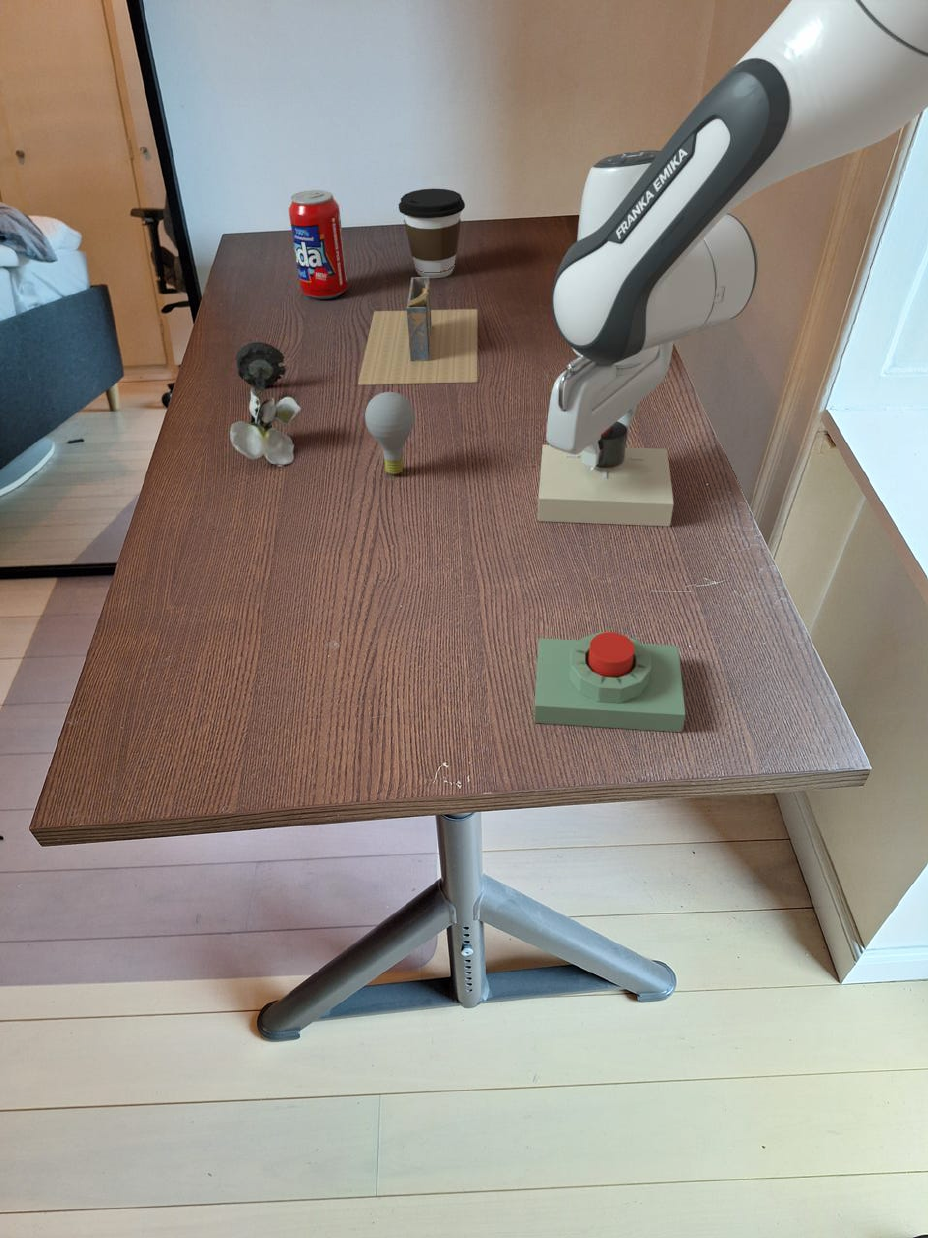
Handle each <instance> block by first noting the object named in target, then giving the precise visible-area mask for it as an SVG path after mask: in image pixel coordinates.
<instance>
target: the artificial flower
mask: <svg viewBox="0 0 928 1238" xmlns="http://www.w3.org/2000/svg"><path fill="white" fill-rule="evenodd" d="M235 356H236V357H235V360H236V361H235V362H236V366H237V374H238V376H239V378H240V379H241V380H243V381H244V382H245V383H246V384H248V385H250V386H253V387H251V388H250V401H249V405H248V406H249V408H248V410H249V413H250V414H251V415H250V416H251V417H250V421H249V422H248V423H247V422H245V421H243V420H242V421H241V420H240V421H239V420H238V421H236V422H235V421H234V422H233V423H232V424H231V426H230V431H229V433H230V434H229V439H230V442H231V445H232V446H233V447H234V448H235V450H236V451H237V452H239V453H240V454H242V455H243V456H245V457H246V458H247V459H248V460H257V459H260V458H261V457H262V456H264V457H265V458H266V460H267V461H268V462H269V463H270V464H272V465H276V467H279V468H281V467H282V468H283V467H284V466H285V465H291V463H293V461H294V460H295V456H294V455H295V454H294V448H295V445H294V443H293V441H292V438H291V437H290V436H289V435H288V434H285V433H283V432H282V431H281V430H279V428H278V427H273V425H274V422H276V423H277V424H278V425H280V426H282V427H287V426H288V425H290V424H292V422H293V421H294V419H295V417H296V415H297V414H298V413H299V412H300V411H301V410H302V408H301V406H300V405H298V403H297V401H296V400H295V399H294V398H293V397H291V396H285V397H283V398H281V399H280V400H279V401H278V402H277V403H275V398H274V397H271V400H270V399H265V400H264V401H263V402H262V403H261V398H262V393H263V392H264V390H265V388H266V386H273V385H274V384H276V383H277V382H278V380H281V379H282V377H283V376H285V374H286V366H285V365H281V366H280V365H279V364H282V363H283V364H284V363H285V355H284V354H283V353H282V352H281V351H280V349H278V348H276V346H275V347H274V346H273V345H271V344H268V343H267V342H262V341H258V342H257V341H256V342H251V343H247V344H245V345H244V346H243V347H241V349H240V350H238V352H237V354H236V355H235ZM255 388H256V389H257V392H256V391H255ZM244 394H245V393H243V395H244Z"/></svg>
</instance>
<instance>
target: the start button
mask: <svg viewBox="0 0 928 1238" xmlns="http://www.w3.org/2000/svg"><path fill="white" fill-rule="evenodd" d="M605 632H606V631H605ZM619 633H620V632H614V631H607V632H606V633H601V634H599V635H597V636H595V637H594V638H593V639H592V640H591V642H590V649H589V659H588V662H589V666H590V667H591V669H592V670H593V671H594V672H595V673H597V674H599V675H601V676H604V677H613V678H617V677H621V676H624V675H625V674H627V673H628V672H629V671H630V670H631V668H632V664H633V657H634V650H635V648H634V645H633V643H632V641H631V640H630V639H629V638H627V637H626V636H627V635H625V634H623V633H620V634H619ZM622 634H623V635H622ZM624 635H625V636H624Z"/></svg>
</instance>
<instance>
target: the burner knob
mask: <svg viewBox="0 0 928 1238" xmlns="http://www.w3.org/2000/svg"><path fill="white" fill-rule="evenodd" d="M627 433H628V429H627V427H626V426H625V425H624V424H622V423H620V422H618V421H617V422H615V423H614V424H613V425H612V426H611V427H609V428H608V429H607V430H606V431H605V432H604V433H602V434H601V439H600V440H599V441H598V445H599V447H601V448H603V455H602V457H603V459H602V460H601V461H600V462H599V463H598V464H597V465H596V467H601V468H611V467H616V466H618V465H620V464H622V463H623V461H624V459H625V451H626V447H627V441H628V438H627Z"/></svg>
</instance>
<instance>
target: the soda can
mask: <svg viewBox="0 0 928 1238" xmlns="http://www.w3.org/2000/svg"><path fill="white" fill-rule="evenodd" d="M290 201H291V203H290V205H289V207H288V216H289V223H290V229H291V230H290V231H291V236H292V241H293V248H294V249H293V250H294V255H295V261H296V267H297V273H298V279H299V280H298V281H299V286H300V291H301V292H302V293H303V294H304V295H306V296H307V297H310V298H313V299H316V300H328V299H334V298H336V297H339V296H341V295H342V294H343V293H345V292H346V291H347V290H348V288H349V277H348V269H347V261H346V252H345V245H344V236H343V228H342V227H343V226H342V218H341V211H340V206H339V203H338V202H337V201H336V200H335V198H334V193H332V192H331V191H329V190H323V189H322V190H321V189H313V190H311V189H310V190H304V191H300V192H299V191H298V192H297V193H295V194H292V196H291V197H290Z"/></svg>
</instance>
